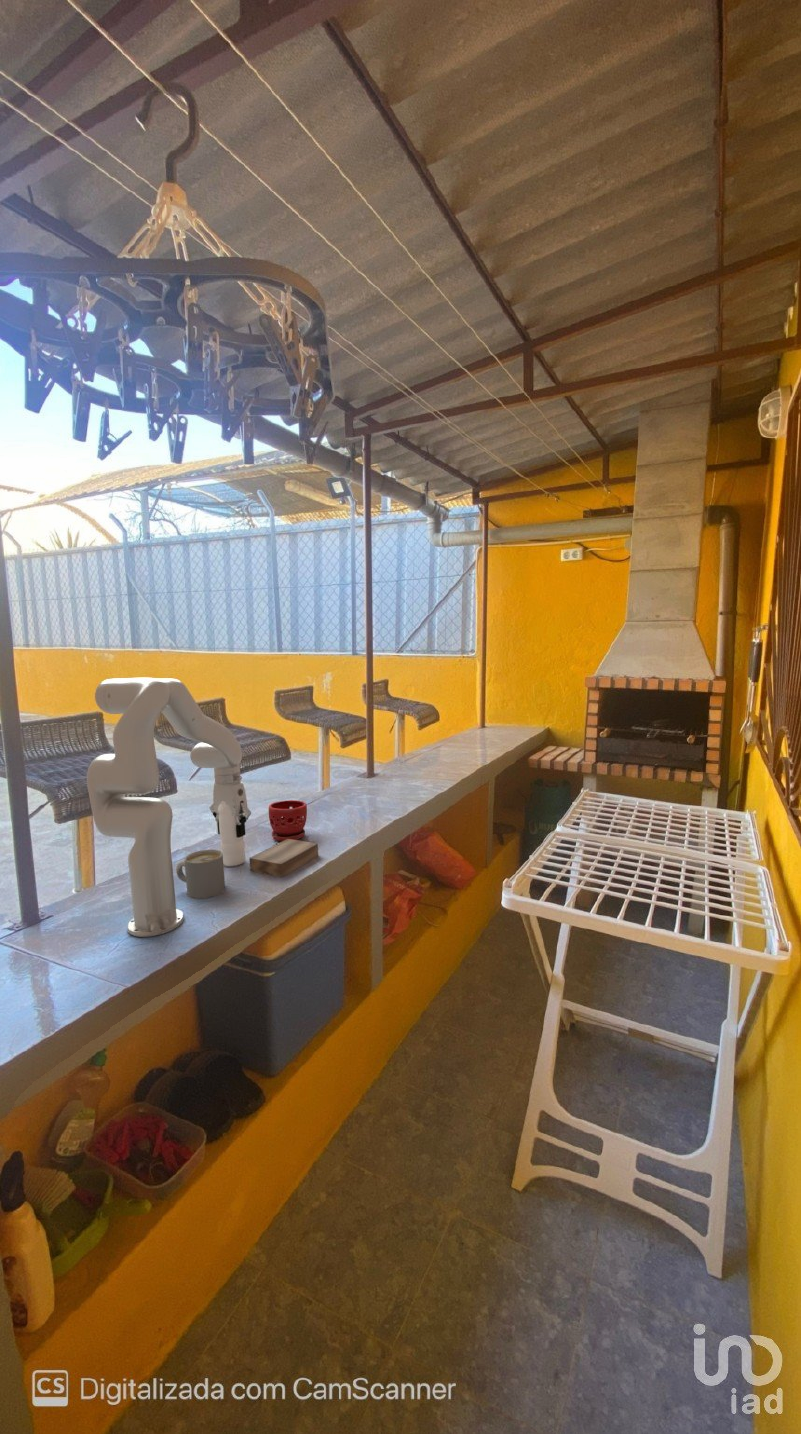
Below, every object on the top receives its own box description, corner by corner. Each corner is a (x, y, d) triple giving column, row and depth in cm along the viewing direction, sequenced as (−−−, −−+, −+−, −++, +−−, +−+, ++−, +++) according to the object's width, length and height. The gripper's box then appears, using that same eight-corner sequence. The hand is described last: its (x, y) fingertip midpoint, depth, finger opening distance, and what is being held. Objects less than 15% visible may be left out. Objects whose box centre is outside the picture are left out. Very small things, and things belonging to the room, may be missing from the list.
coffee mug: (232, 885, 157) (230, 851, 156) (207, 901, 148) (204, 865, 147) (196, 879, 163) (193, 846, 162) (169, 893, 154) (166, 858, 153)
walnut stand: (318, 855, 178) (317, 843, 177) (281, 877, 162) (281, 864, 162) (288, 850, 183) (287, 838, 183) (250, 870, 168) (249, 858, 167)
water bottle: (231, 869, 169) (225, 788, 166) (217, 864, 174) (211, 785, 170) (250, 861, 175) (244, 783, 172) (236, 857, 179) (230, 780, 176)
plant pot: (304, 843, 190) (302, 808, 188) (266, 844, 190) (263, 810, 189) (311, 830, 203) (309, 798, 201) (275, 831, 203) (273, 799, 202)
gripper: (257, 777, 170) (261, 834, 172) (215, 773, 178) (220, 827, 180) (240, 783, 164) (244, 842, 166) (197, 778, 172) (202, 834, 174)
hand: (231, 834), depth 173 cm, fingers closed on water bottle, 7 cm apart
